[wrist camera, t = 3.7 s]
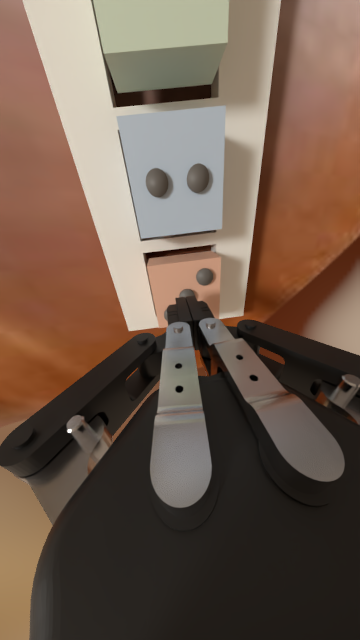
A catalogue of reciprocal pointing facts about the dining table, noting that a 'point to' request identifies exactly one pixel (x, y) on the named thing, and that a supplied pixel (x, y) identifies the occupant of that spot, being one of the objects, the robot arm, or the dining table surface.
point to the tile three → (185, 281)
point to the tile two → (175, 169)
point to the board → (101, 122)
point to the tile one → (162, 41)
